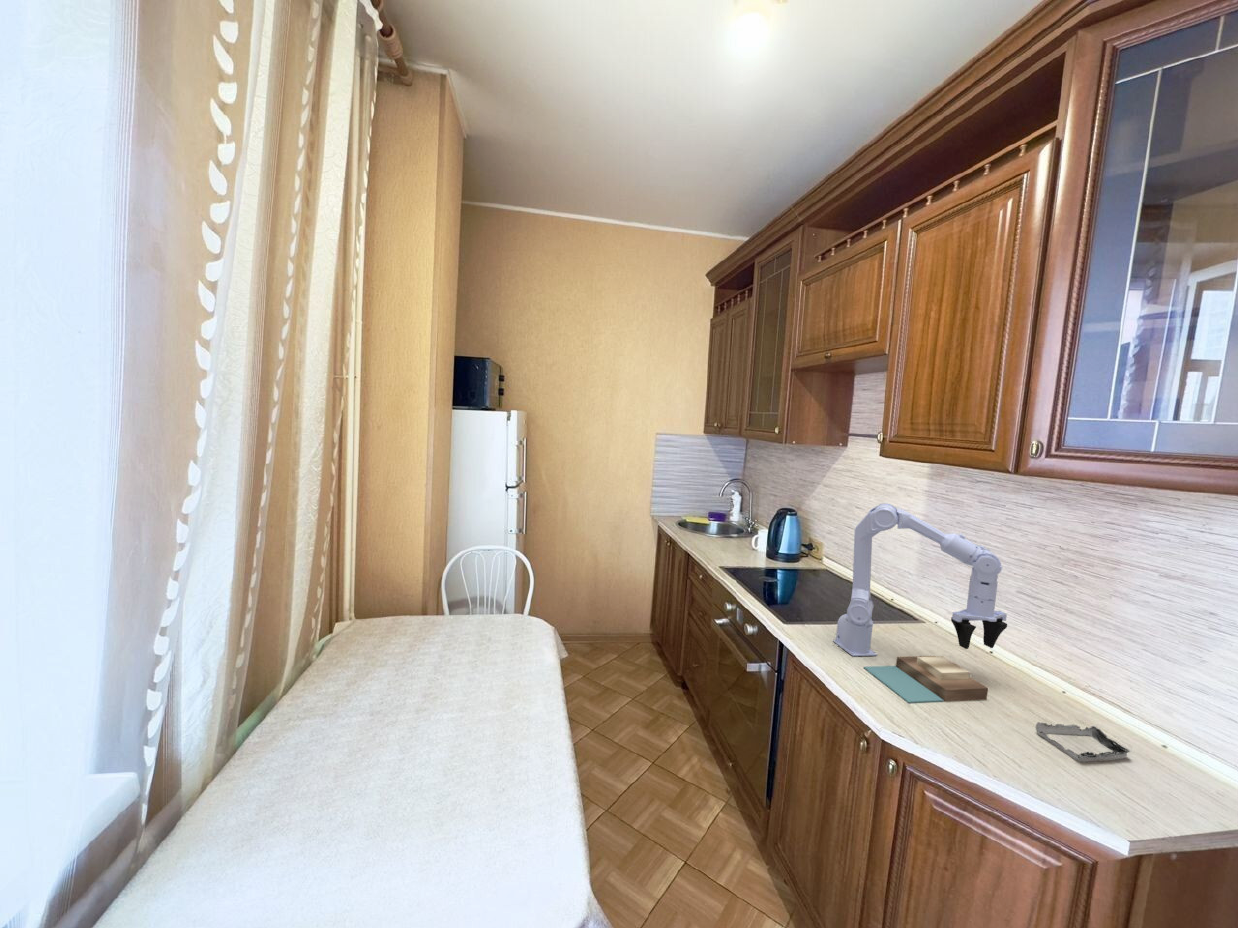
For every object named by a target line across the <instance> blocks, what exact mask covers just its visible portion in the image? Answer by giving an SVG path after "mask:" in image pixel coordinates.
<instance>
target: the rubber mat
mask: <svg viewBox="0 0 1238 928" xmlns="http://www.w3.org/2000/svg"><path fill="white" fill-rule="evenodd" d="M863 669H864V670H865V671H866V672H868V674H870V675H871V676H873V677H874V678H875V679H877V680H878V681H879V682H880V683H882V684H883V685H884V686H886V687H887V688H888V689H889V690H891V691H892V692H893V693H894V694H896V695H897V696H898V697H900V698H901V699H902V700H904V701H905V702H906V703H907V704H921V703H922V704H923V703H941V702H944V700H943V699H941V698H940V697H939V696H937V695H936V694H934V693H933V692H932V691H930V690H929V689H927V688H926V687H924V686H923V685H922V684H920V683H919V682H917V681H916V680H914V679H913V678H912V677H910V676H909V675H907V674H906V673H905V672H903V671H902V670H900V669H899V668H897V667H896V665H879V666H878V665H877V666H876V665H874V666H872V665H871V666H863Z"/></svg>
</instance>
